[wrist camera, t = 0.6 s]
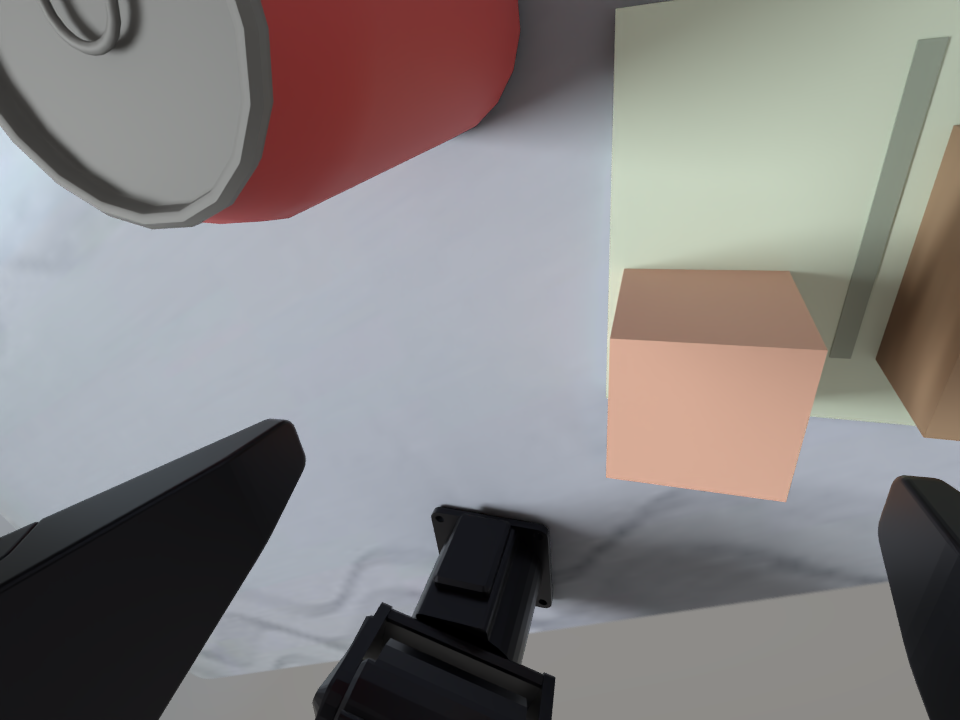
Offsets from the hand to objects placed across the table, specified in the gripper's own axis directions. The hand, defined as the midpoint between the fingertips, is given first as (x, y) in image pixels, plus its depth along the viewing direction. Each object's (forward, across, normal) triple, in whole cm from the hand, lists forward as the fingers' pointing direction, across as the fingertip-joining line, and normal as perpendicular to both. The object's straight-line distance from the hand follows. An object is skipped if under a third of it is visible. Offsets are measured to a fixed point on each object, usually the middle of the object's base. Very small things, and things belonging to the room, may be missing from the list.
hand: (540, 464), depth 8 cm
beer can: (+12, +6, -7) cm, 15 cm away
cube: (+12, -3, +4) cm, 13 cm away
